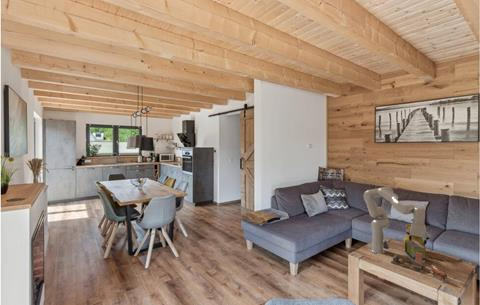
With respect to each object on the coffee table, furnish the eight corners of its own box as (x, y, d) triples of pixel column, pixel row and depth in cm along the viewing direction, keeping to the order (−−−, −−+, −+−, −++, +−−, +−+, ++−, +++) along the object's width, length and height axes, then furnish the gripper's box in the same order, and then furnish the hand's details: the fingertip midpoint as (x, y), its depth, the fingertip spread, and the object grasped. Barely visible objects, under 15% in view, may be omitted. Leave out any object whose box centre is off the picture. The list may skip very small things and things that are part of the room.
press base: (390, 264, 206) (391, 257, 206) (394, 259, 215) (395, 252, 214) (422, 274, 190) (422, 267, 190) (425, 269, 198) (425, 262, 198)
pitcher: (401, 251, 228) (403, 226, 227) (403, 246, 242) (405, 221, 241) (423, 258, 217) (426, 231, 216) (425, 251, 231) (427, 226, 230)
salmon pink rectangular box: (413, 269, 196) (413, 253, 196) (415, 265, 202) (415, 250, 201) (420, 271, 193) (421, 255, 192) (422, 267, 198) (423, 252, 197)
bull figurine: (432, 273, 193) (432, 263, 192) (448, 283, 179) (448, 272, 179) (427, 273, 192) (427, 263, 192) (443, 283, 179) (443, 273, 178)
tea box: (425, 264, 206) (426, 247, 205) (412, 263, 208) (412, 246, 207) (416, 255, 221) (416, 240, 220) (404, 255, 223) (404, 239, 222)
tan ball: (397, 263, 206) (398, 259, 206) (399, 261, 209) (399, 257, 208) (402, 264, 203) (402, 260, 203) (403, 263, 206) (404, 259, 206)
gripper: (405, 220, 199) (403, 240, 201) (431, 226, 187) (429, 247, 188) (407, 218, 205) (406, 237, 206) (432, 223, 192) (431, 244, 193)
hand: (417, 242), depth 197 cm, fingers open, 9 cm apart
